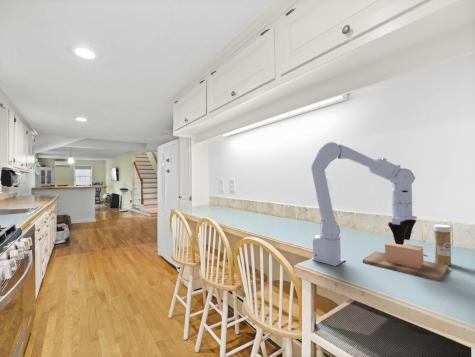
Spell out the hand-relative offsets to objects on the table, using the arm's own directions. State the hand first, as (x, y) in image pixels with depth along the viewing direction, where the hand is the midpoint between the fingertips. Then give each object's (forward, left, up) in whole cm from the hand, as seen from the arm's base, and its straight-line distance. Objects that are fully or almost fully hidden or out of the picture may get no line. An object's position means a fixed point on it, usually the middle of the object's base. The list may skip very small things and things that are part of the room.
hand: (402, 241), depth 83 cm
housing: (0, 0, -7) cm, 7 cm away
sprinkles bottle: (+9, +11, -8) cm, 17 cm away
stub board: (0, 0, -8) cm, 8 cm away
